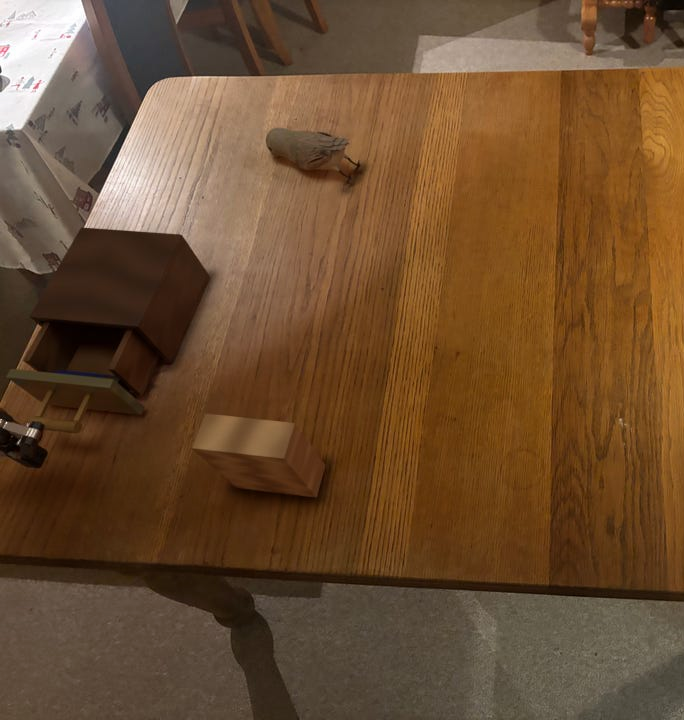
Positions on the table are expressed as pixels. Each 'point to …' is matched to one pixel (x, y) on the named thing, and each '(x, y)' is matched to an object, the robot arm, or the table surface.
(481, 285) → the table surface
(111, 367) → the drawer
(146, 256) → the cabinet
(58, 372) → the blue cylinder
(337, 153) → the decorative bird
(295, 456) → the wooden block
